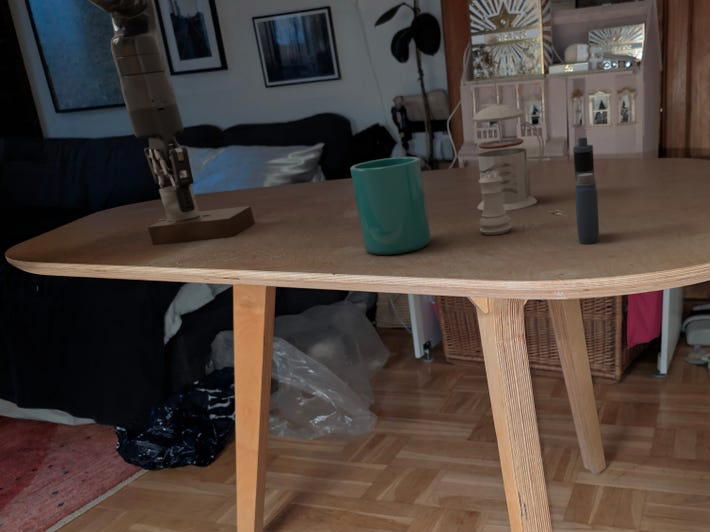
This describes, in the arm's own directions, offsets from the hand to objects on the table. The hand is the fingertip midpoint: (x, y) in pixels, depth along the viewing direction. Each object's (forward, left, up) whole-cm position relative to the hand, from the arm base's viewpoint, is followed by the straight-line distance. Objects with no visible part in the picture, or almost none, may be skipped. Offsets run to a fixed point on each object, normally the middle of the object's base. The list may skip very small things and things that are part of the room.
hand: (181, 209), depth 119 cm
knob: (0, 0, -1) cm, 1 cm away
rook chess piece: (+54, -20, -5) cm, 58 cm away
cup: (+41, -22, -5) cm, 47 cm away
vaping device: (+66, -29, -5) cm, 72 cm away
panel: (+3, 0, -4) cm, 5 cm away
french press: (+56, -2, -5) cm, 56 cm away
